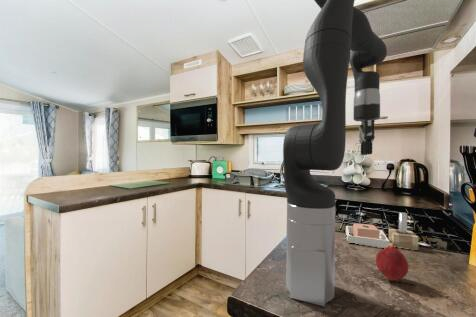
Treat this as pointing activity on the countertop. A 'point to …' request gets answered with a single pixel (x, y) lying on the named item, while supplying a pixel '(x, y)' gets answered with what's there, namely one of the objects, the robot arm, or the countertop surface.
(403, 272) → the onion
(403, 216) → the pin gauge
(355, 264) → the countertop surface
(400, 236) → the oak block
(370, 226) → the terracotta block
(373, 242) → the tray
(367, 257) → the countertop surface
